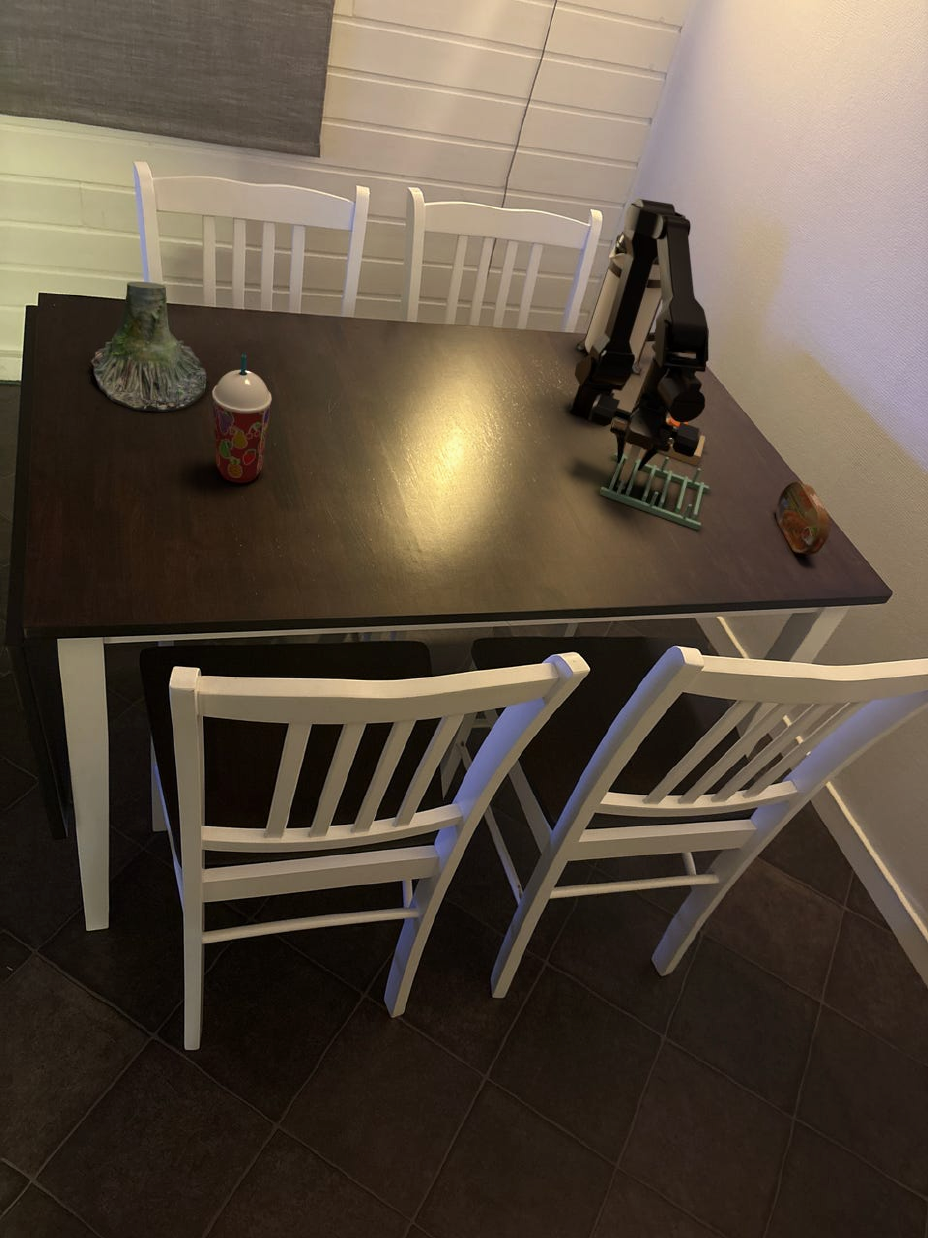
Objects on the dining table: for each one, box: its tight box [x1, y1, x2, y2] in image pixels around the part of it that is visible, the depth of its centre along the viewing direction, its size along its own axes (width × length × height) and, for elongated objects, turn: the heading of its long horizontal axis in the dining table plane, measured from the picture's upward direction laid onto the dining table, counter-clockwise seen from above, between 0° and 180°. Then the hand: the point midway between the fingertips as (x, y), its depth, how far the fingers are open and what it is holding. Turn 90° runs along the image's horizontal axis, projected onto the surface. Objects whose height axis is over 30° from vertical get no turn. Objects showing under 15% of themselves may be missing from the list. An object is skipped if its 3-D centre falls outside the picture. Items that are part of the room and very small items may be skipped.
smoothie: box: [211, 354, 273, 484], centre depth 132 cm, size 8×8×20 cm
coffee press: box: [576, 231, 662, 375], centre depth 183 cm, size 17×16×30 cm
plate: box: [615, 444, 642, 491], centre depth 156 cm, size 2×9×10 cm, turn 163°
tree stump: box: [90, 281, 207, 413], centre depth 149 cm, size 18×20×18 cm
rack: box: [599, 452, 710, 531], centre depth 158 cm, size 18×13×4 cm
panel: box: [658, 417, 706, 467], centre depth 171 cm, size 12×8×4 cm, turn 73°
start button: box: [668, 416, 689, 429], centre depth 169 cm, size 4×4×2 cm
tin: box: [775, 481, 831, 555], centre depth 155 cm, size 15×3×8 cm, turn 5°
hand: (628, 465), depth 157 cm, fingers open, 3 cm apart
